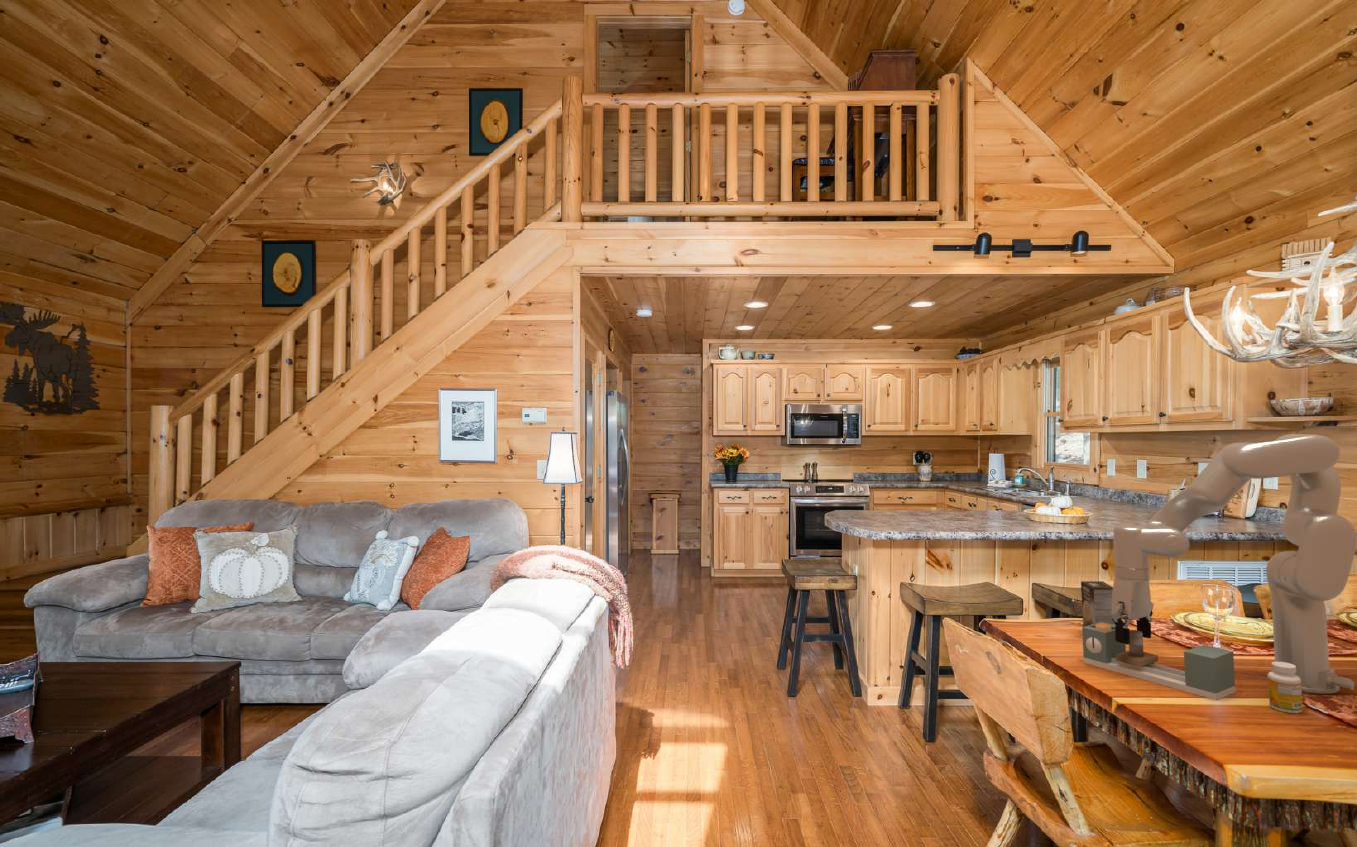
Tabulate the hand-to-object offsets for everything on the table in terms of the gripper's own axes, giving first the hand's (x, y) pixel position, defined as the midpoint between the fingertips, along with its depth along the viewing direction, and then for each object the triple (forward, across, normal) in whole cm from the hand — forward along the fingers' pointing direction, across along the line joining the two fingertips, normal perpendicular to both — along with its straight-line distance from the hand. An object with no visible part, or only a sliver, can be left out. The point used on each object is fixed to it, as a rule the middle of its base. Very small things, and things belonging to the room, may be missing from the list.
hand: (1133, 639), depth 170 cm
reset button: (+1, 0, -8) cm, 8 cm away
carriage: (+5, 0, 0) cm, 5 cm away
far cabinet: (+7, 0, -8) cm, 10 cm away
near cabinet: (+6, 0, +16) cm, 17 cm away
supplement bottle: (+8, -3, +30) cm, 31 cm away
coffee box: (+8, -21, -20) cm, 31 cm away
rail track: (+8, 0, +4) cm, 9 cm away
